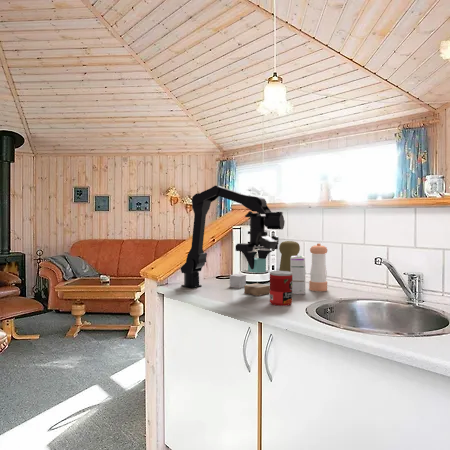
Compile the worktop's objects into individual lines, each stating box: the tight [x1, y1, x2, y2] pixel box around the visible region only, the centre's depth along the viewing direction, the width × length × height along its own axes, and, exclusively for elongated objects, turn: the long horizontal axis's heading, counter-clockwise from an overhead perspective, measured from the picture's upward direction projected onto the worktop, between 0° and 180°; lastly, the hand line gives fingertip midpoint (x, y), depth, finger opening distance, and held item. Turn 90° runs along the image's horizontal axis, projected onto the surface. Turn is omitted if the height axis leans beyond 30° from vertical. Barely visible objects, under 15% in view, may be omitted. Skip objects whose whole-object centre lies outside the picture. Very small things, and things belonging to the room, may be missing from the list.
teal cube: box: [247, 257, 267, 274], centre depth 159 cm, size 5×5×5 cm
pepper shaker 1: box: [278, 240, 301, 272], centre depth 179 cm, size 10×10×19 cm
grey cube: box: [229, 273, 247, 289], centre depth 174 cm, size 5×5×5 cm
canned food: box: [269, 270, 293, 307], centre depth 142 cm, size 8×8×11 cm
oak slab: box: [243, 282, 270, 297], centre depth 160 cm, size 7×7×3 cm
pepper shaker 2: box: [308, 242, 328, 292], centre depth 167 cm, size 7×7×19 cm
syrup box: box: [290, 255, 306, 295], centre depth 161 cm, size 6×6×14 cm
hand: (256, 268), depth 159 cm, fingers closed on teal cube, 5 cm apart
